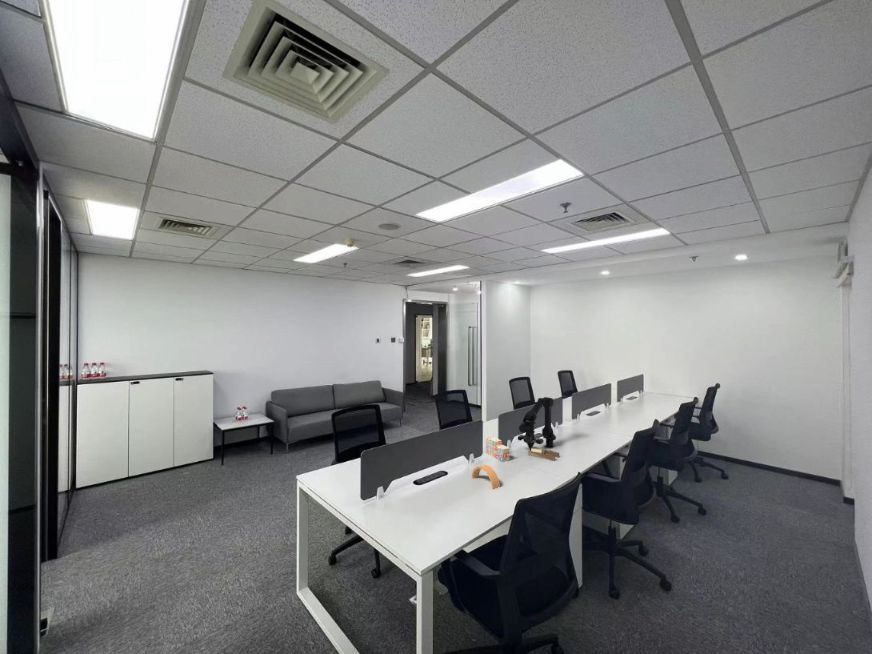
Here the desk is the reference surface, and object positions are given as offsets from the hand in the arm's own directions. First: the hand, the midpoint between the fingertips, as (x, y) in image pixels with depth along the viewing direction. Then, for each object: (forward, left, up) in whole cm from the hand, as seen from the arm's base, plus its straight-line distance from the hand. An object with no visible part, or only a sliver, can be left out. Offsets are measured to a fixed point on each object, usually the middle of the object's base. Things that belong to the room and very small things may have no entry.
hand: (530, 450), depth 266 cm
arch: (+66, -2, -2) cm, 66 cm away
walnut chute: (0, +10, -2) cm, 10 cm away
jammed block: (0, +6, -2) cm, 6 cm away
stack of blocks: (+22, -17, -2) cm, 27 cm away
